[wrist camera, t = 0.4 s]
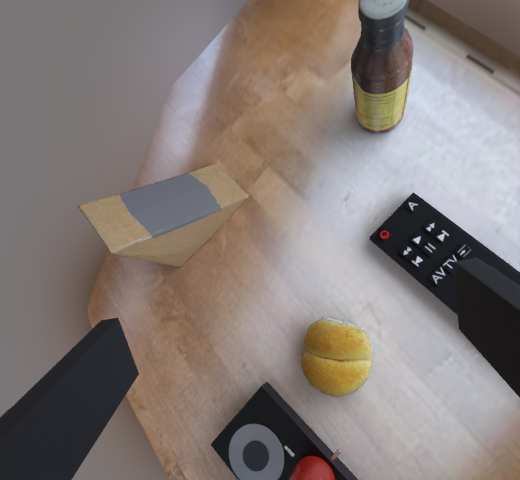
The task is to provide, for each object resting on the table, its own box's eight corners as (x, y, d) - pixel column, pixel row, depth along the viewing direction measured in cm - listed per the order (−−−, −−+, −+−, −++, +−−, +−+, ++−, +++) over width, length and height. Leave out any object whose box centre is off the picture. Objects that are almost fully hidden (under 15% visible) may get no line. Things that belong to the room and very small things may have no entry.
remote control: (410, 194, 44) (412, 189, 42) (682, 400, 33) (701, 406, 31) (367, 237, 44) (367, 234, 42) (620, 454, 33) (635, 463, 31)
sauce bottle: (370, 88, 48) (371, -50, 29) (413, 104, 46) (443, -36, 27) (346, 128, 48) (332, 14, 29) (388, 145, 46) (400, 34, 27)
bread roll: (300, 384, 43) (293, 391, 40) (310, 313, 45) (304, 314, 41) (367, 401, 41) (367, 411, 37) (376, 325, 42) (376, 327, 38)
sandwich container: (251, 196, 50) (205, 153, 36) (181, 269, 52) (111, 255, 38) (215, 161, 53) (161, 109, 39) (150, 231, 55) (74, 205, 41)
